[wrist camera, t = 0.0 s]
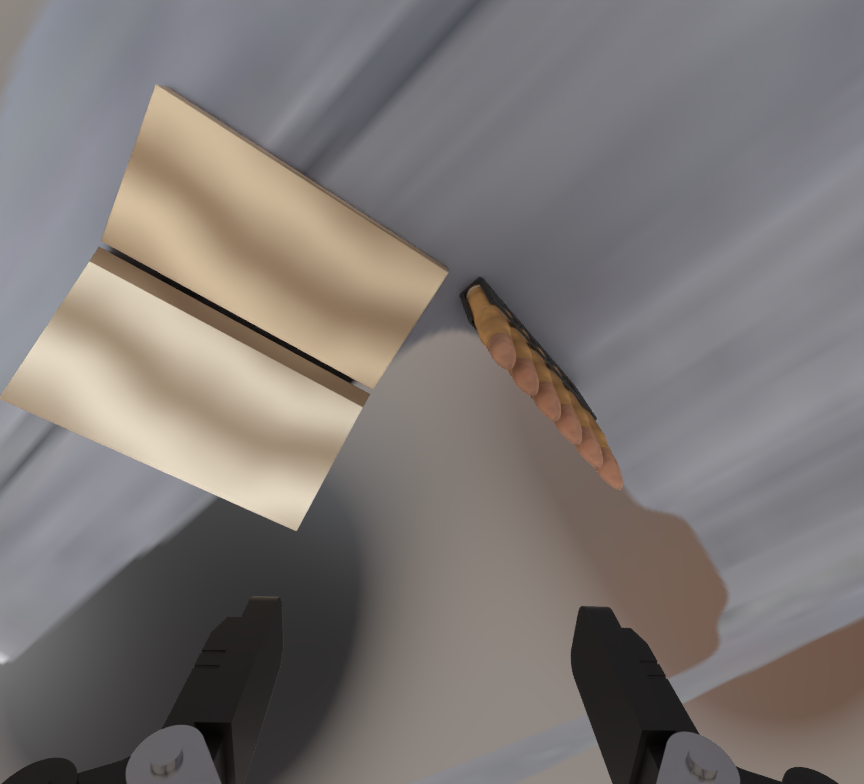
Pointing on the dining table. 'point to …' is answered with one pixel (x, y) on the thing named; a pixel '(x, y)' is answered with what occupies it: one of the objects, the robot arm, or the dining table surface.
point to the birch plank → (187, 391)
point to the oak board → (267, 241)
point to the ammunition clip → (539, 377)
